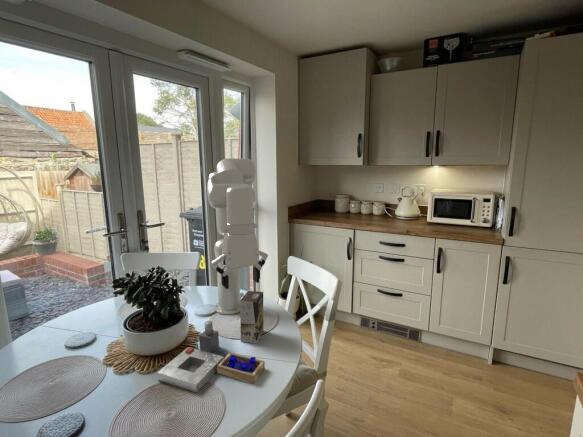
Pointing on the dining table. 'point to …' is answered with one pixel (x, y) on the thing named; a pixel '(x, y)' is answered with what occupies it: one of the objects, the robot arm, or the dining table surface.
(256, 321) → the coffee box
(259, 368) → the tidy tray
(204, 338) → the plug
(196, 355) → the socket plate
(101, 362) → the dining table surface
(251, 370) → the cable holder
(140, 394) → the dining table surface
